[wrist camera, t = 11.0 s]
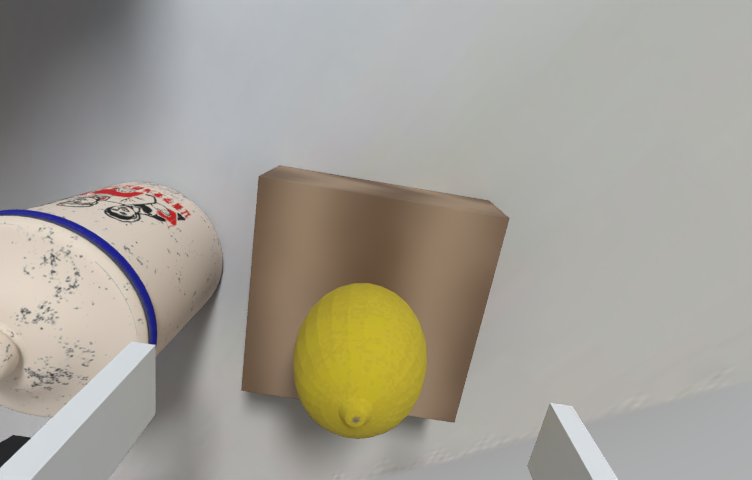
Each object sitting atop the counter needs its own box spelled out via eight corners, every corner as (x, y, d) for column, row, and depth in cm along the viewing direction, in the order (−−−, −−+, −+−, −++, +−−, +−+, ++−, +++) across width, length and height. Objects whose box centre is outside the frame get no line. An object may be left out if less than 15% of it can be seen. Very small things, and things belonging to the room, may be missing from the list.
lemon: (359, 374, 23) (349, 509, 15) (288, 303, 21) (237, 411, 14) (440, 314, 22) (472, 428, 14) (369, 236, 20) (362, 313, 13)
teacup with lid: (217, 173, 24) (68, 229, 12) (238, 318, 26) (131, 470, 15) (10, 180, 24) (-315, 241, 13) (52, 322, 27) (-186, 474, 16)
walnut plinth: (261, 350, 27) (241, 390, 23) (279, 165, 23) (258, 176, 20) (444, 378, 27) (454, 422, 23) (489, 200, 24) (509, 218, 20)
